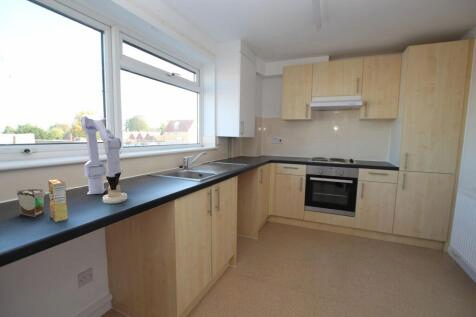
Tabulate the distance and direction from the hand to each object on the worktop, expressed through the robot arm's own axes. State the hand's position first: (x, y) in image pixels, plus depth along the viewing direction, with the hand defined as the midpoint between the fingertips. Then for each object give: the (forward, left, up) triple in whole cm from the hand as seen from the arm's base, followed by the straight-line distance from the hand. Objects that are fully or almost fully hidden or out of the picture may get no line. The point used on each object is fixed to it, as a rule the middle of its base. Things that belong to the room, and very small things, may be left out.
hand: (114, 188), depth 115 cm
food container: (+9, -29, -7) cm, 31 cm away
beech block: (0, 0, -4) cm, 4 cm away
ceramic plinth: (0, 0, -6) cm, 6 cm away
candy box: (+19, -18, -7) cm, 27 cm away
